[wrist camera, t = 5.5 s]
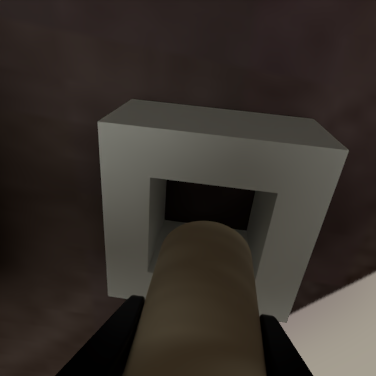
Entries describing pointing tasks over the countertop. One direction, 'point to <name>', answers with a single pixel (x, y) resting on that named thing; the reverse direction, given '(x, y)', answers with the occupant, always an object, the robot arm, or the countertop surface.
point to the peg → (200, 308)
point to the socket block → (219, 176)
